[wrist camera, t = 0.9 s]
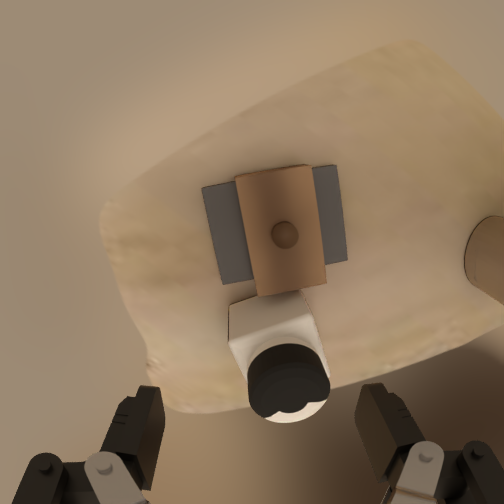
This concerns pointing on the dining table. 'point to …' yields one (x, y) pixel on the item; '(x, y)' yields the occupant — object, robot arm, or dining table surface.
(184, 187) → the dining table surface
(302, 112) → the dining table surface
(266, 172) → the lid
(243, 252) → the mat
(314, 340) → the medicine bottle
